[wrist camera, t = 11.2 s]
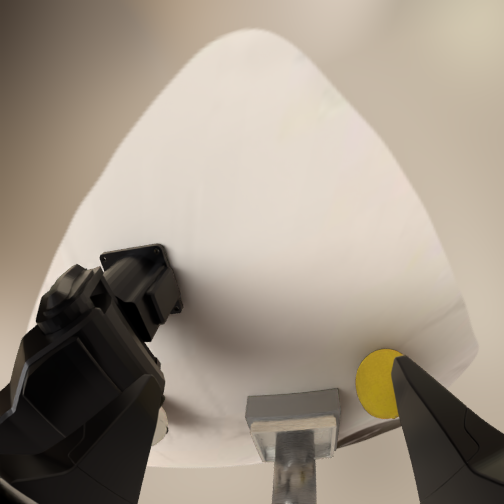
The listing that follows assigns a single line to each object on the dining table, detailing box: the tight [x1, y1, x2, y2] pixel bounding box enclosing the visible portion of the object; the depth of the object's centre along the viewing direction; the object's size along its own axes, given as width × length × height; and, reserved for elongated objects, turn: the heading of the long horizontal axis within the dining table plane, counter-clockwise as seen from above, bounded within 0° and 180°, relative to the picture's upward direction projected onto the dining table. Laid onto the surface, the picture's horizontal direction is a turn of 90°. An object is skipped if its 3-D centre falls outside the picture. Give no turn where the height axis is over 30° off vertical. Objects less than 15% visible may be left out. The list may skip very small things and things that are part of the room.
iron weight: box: [272, 431, 317, 504], centre depth 20 cm, size 4×4×14 cm
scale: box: [245, 388, 341, 462], centre depth 28 cm, size 10×11×5 cm
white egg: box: [151, 406, 168, 446], centre depth 28 cm, size 10×7×7 cm
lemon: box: [356, 349, 402, 419], centre depth 21 cm, size 6×6×8 cm
